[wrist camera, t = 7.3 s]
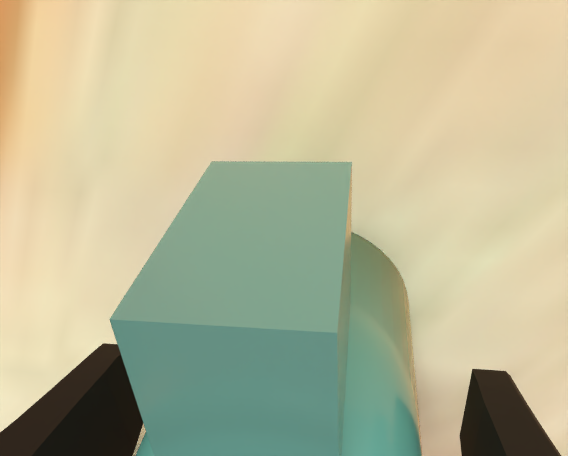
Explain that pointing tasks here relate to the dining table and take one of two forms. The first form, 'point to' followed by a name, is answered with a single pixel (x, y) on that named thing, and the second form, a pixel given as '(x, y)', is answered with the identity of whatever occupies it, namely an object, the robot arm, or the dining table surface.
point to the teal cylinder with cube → (270, 324)
